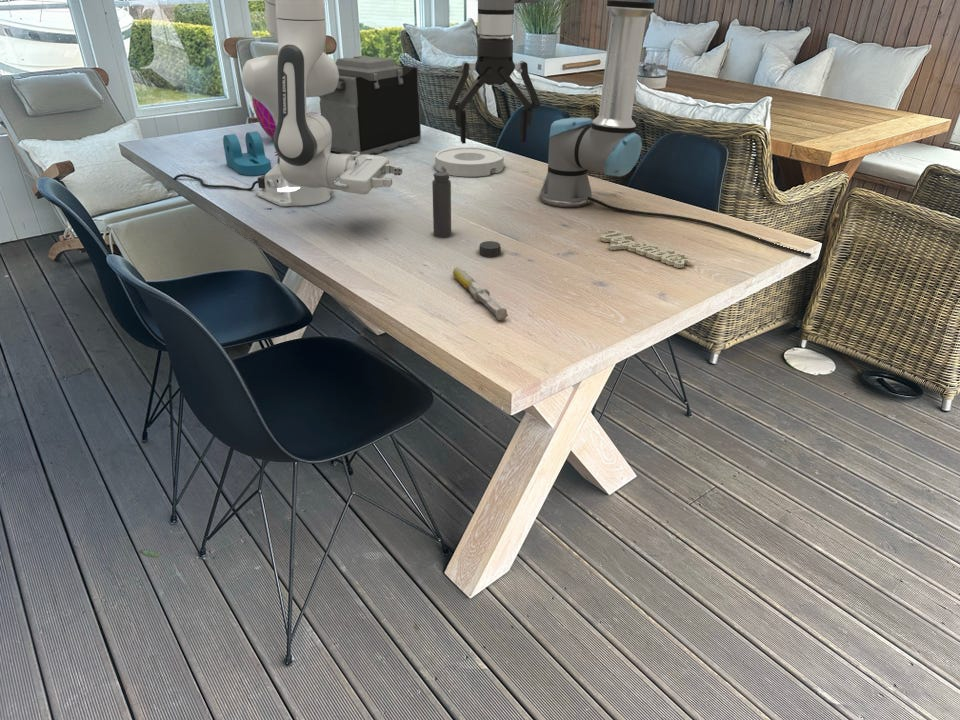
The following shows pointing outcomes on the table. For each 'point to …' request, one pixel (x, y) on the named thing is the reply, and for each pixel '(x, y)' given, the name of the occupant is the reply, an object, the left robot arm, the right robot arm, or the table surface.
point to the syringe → (479, 293)
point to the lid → (489, 249)
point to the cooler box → (373, 106)
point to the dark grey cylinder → (441, 204)
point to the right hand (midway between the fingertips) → (493, 141)
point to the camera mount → (246, 154)
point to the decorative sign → (644, 249)
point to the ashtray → (469, 161)
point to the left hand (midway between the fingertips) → (396, 176)
